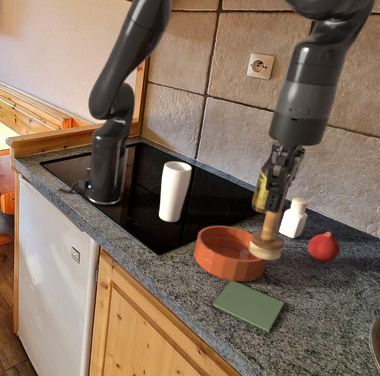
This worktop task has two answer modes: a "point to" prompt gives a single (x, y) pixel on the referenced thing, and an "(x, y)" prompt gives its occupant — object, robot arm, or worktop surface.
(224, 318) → the worktop surface
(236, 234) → the bowl
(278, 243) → the dish brush
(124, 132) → the robot arm
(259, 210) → the sauce bottle
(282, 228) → the pepper shaker
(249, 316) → the mat
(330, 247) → the onion
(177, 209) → the drinking glass
